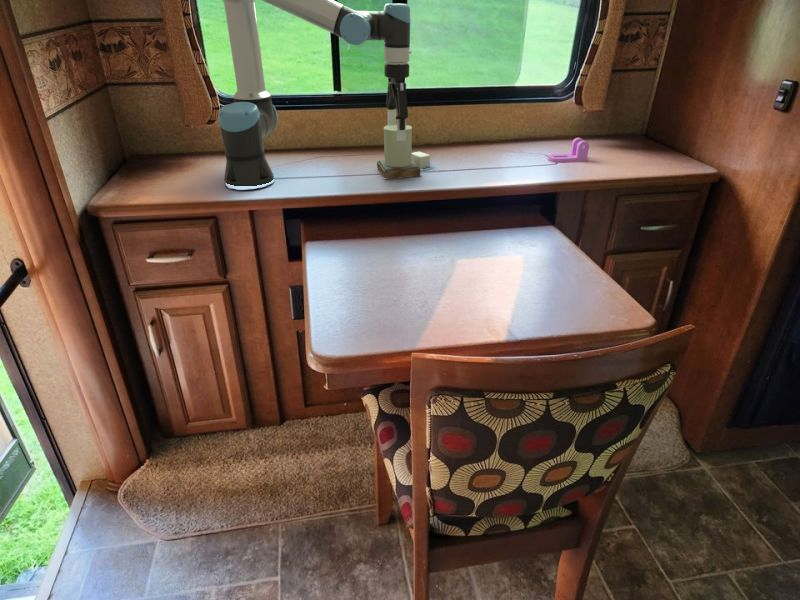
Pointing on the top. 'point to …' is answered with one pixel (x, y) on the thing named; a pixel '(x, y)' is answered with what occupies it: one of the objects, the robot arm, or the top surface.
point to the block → (421, 159)
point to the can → (397, 147)
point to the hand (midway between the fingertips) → (396, 135)
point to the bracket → (573, 153)
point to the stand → (398, 170)
